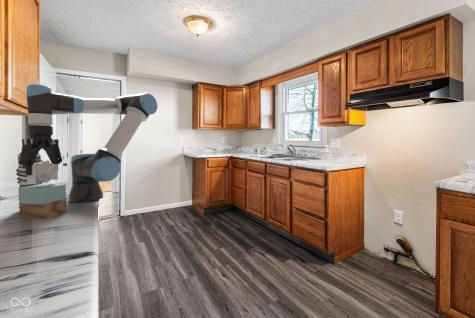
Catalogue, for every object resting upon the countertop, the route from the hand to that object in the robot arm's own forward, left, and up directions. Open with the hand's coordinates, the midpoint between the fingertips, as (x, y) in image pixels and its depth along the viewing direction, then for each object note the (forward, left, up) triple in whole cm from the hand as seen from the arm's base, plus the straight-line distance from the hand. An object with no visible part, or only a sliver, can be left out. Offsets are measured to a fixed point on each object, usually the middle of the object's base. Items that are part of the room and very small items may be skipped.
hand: (43, 181), depth 99 cm
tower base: (0, 0, -14) cm, 14 cm away
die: (0, 0, 0) cm, 0 cm away
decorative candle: (-6, -12, -14) cm, 19 cm away
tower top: (0, 0, -8) cm, 8 cm away
